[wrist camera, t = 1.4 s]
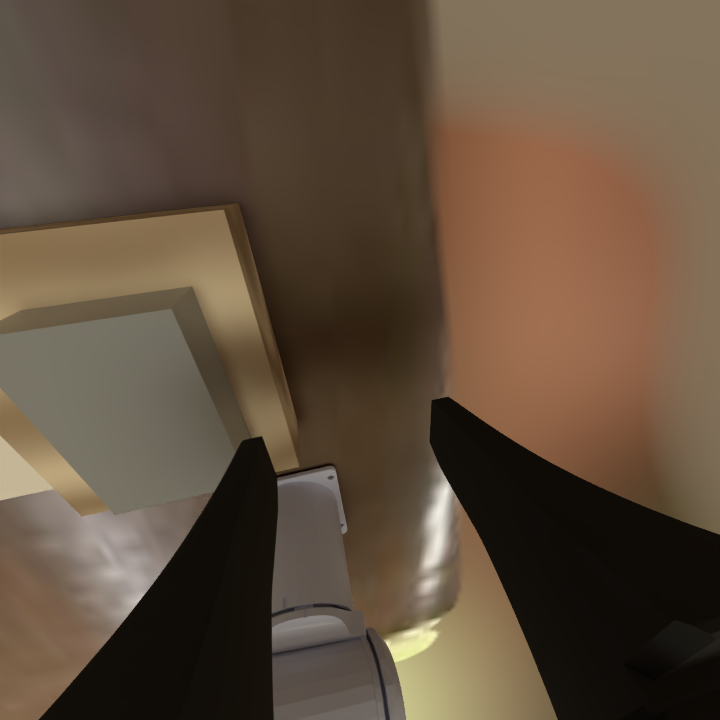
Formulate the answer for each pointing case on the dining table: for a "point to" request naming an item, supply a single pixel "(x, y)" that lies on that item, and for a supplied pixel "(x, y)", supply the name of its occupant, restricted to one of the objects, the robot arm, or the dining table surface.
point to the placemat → (18, 475)
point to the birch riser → (141, 275)
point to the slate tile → (126, 394)
